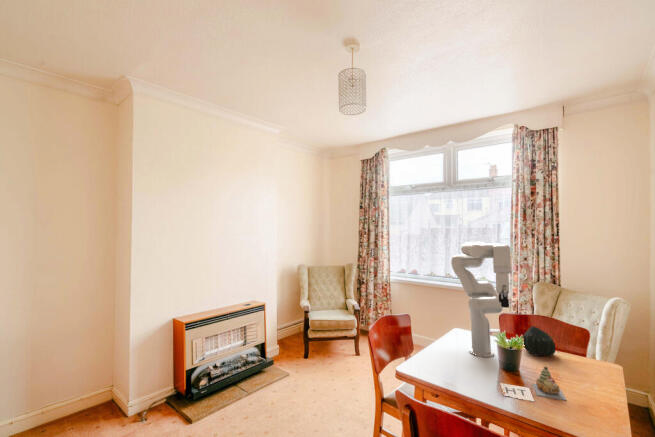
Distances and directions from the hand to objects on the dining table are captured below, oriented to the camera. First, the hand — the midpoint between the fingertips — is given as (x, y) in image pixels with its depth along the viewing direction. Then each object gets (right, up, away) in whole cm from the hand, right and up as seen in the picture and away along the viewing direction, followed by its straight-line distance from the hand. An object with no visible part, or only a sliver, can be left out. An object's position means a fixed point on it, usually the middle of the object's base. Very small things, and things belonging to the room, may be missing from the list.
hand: (503, 304), depth 146 cm
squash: (+31, -33, +20) cm, 50 cm away
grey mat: (+9, -33, -18) cm, 38 cm away
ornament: (+9, -32, -18) cm, 38 cm away
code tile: (-5, -33, -17) cm, 37 cm away
